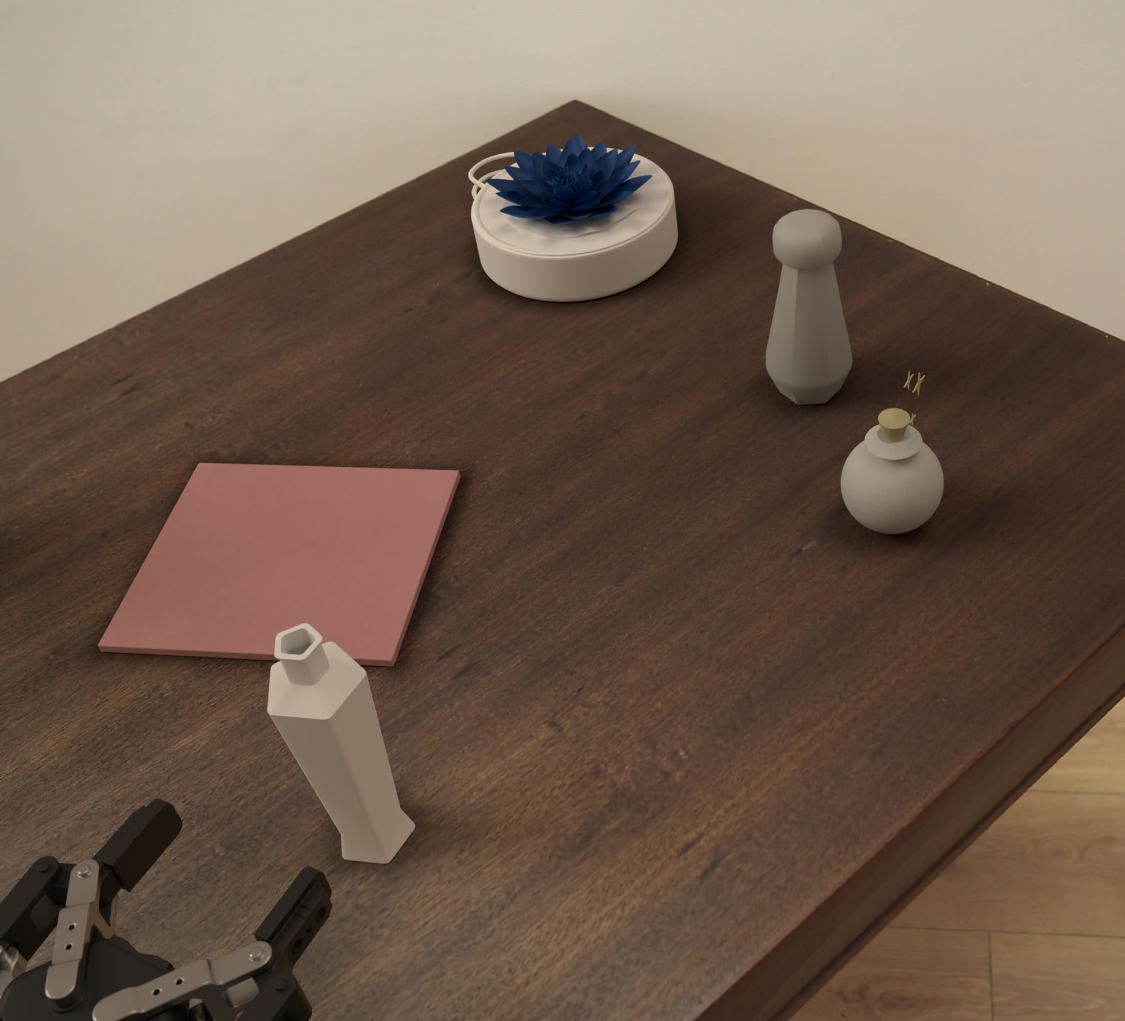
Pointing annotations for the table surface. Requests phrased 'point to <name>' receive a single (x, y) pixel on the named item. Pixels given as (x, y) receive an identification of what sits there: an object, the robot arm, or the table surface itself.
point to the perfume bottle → (337, 742)
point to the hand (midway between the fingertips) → (244, 843)
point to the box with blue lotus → (573, 221)
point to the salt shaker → (808, 310)
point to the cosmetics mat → (286, 561)
